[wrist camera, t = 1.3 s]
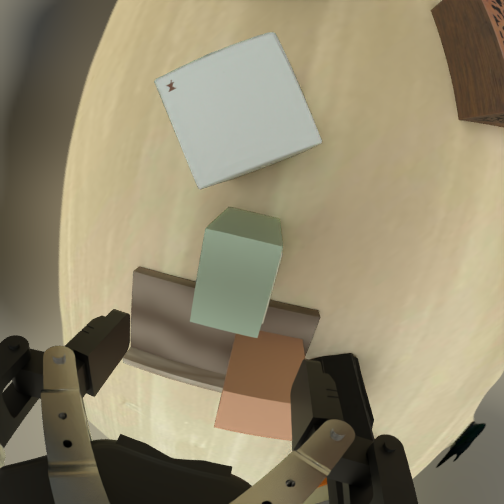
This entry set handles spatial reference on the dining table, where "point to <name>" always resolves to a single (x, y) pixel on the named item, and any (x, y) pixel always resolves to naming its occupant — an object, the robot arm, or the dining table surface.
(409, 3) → the dining table surface
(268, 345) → the terracotta tin
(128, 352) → the shallow tray
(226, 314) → the tea tin
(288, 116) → the supplement box
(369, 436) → the portable radio
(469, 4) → the tissue box cover
